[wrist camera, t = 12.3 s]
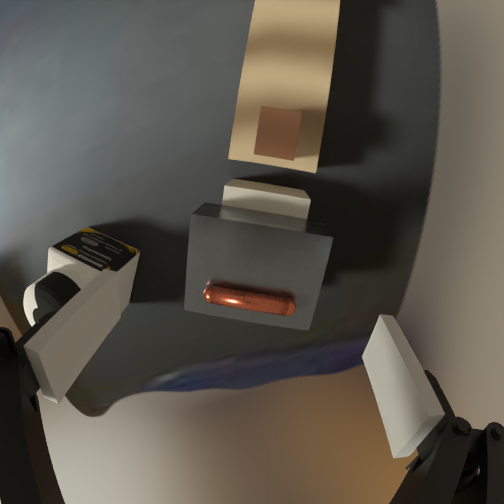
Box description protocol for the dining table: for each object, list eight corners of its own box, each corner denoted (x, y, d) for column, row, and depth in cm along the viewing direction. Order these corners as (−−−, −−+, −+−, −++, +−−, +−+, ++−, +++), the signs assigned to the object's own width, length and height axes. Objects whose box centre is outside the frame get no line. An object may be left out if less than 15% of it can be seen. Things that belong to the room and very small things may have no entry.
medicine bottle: (141, 249, 29) (78, 306, 18) (129, 304, 32) (77, 370, 21) (87, 225, 29) (12, 266, 18) (79, 279, 31) (18, 332, 20)
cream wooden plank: (268, -28, 19) (265, -80, 10) (333, -17, 19) (353, -66, 10) (236, 156, 26) (218, 161, 17) (307, 168, 26) (324, 178, 17)
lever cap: (205, 202, 22) (185, 218, 17) (323, 222, 22) (337, 243, 17) (196, 285, 25) (179, 318, 20) (304, 303, 24) (310, 340, 20)
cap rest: (233, 178, 26) (224, 185, 22) (304, 190, 26) (310, 199, 22) (220, 279, 30) (210, 303, 25) (283, 289, 30) (285, 316, 25)
